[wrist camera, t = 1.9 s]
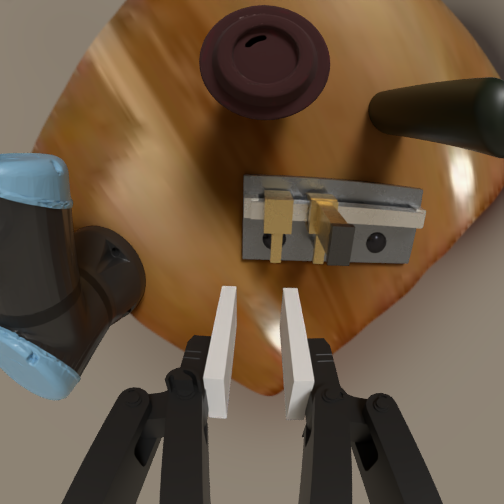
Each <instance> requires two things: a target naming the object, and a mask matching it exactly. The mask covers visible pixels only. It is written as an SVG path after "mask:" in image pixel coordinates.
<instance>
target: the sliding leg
mask: <svg viewBox="0 0 504 504" xmlns="http://www.w3.org/2000/svg"><path fill="white" fill-rule="evenodd" d="M307 198H308V200H309V202H310V204H309V216H308V221H305V227H306V229H307V232H308V233H309V234H315V239H312V240H311V244H312V246H313V257H312V262H313V264H323V261H324V254H325V253H326V255H327V256H326V263H327V265H340V266H349V263H350V258H351V252H352V246H353V240H354V234H355V226H354V225H353V224H348V223H347V222H346V220H345V219H344V218H343V217H342V215H341V214H340V213H339V212H338V204H339V202H338V201H337V199H336V198H335V197H334V196H333V195H332V194H320V193H307Z"/></svg>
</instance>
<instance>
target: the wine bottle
mask: <svg viewBox="0 0 504 504" xmlns="http://www.w3.org/2000/svg"><path fill="white" fill-rule="evenodd" d="M369 116H370V119H371V121H372V123H373V124H374V126H375V127H376V128H377V129H378V130H379V131H381V132H383V133H385V134H390V135H397V136H403V137H410V138H415V139H421V140H427V141H432V142H437V143H442V144H446V145H451V146H455V147H460V148H464V149H468V150H472V151H476V152H480V153H484V154H487V155H491V156H494V157H498V158H504V81H503V80H501V79H498V78H493V77H488V78H473V79H462V80H452V81H443V82H436V83H428V84H422V85H415V86H409V87H404V88H398V89H393V90H388V91H383V92H379V93H377V94H376V95H375V96H374V97H373V98H372V100H371V102H370V105H369Z"/></svg>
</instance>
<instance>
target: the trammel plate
mask: <svg viewBox="0 0 504 504" xmlns="http://www.w3.org/2000/svg"><path fill="white" fill-rule="evenodd" d="M307 193H320V194H332V195H333V196H334V197H335V198H336V199H337V201H338V202H339V204H338V212H339V213H340V214H341V215H342V217H343V218H344V219H345V220H346V222H347V223H348V224H353V225H354V226H355V234H354V240H353V246H352V252H351V258H350V262H369V263H408V262H409V258H410V254H411V250H412V245H413V241H414V236H415V232H416V228H423V225H424V220H425V215H426V210H425V209H423V208H422V207H420V206H421V200H422V194H423V190H422V189H420V188H414V187H407V186H399V185H391V184H383V183H374V182H365V181H355V180H344V179H332V178H319V177H303V176H285V175H260V174H244V194H243V259H262V260H270V263H281V260H295V261H312V257H313V246H312V244H311V240H312V239H315V234H309V233H308V232H307V229H306V227H305V221H308V216H309V204H310V202H309V200H308V198H307ZM326 256H327V255H326V253H325V254H324V261H326Z"/></svg>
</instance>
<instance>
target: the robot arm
mask: <svg viewBox="0 0 504 504" xmlns="http://www.w3.org/2000/svg"><path fill="white" fill-rule="evenodd" d="M71 207H73V200H72V199H71V196H70V186H69V173H68V168H67V166H66V164H65V163H64V161H63V160H61V159H60V158H59V157H57V156H54V155H49V154H37V153H9V154H0V367H1V368H2V370H3V371H4V372H5V373H6V374H7V375H9V376H10V377H11V378H12V379H13V380H14V381H16V382H17V383H18V384H20V385H21V386H22V387H24V388H25V389H27V390H29V391H30V392H32V393H34V394H36V395H38V396H40V397H43V398H46V399H49V400H60V399H64V398H66V397H67V396H68V395H69V394H70V392H71V391H72V390H73V388H74V387H75V385H76V384H77V383H78V382H79V381H80V376H81V375H82V373H83V371H84V369H85V367H86V366H87V364H88V362H89V360H90V359H91V357H92V355H93V354H94V352H95V350H96V348H97V347H98V345H99V343H100V342H101V340H102V338H103V337H104V335H105V333H106V332H107V330H108V329H109V327H110V326H111V325H112V324H114V323H115V322H117V321H118V320H120V319H121V318H122V317H125V316H126V315H128V314H129V313H131V312H132V311H133V310H134V309H135V307H136V306H137V304H138V303H139V301H140V299H141V298H142V296H143V293H144V290H145V272H144V268H143V265H142V263H141V260H140V258H139V256H138V255H137V253H136V251H135V250H134V249H133V247H132V246H131V245H130V244H129V243H128V242H127V241H126V240H125V239H124V238H123V237H122V236H120V235H119V234H117V233H116V232H114V231H112V230H110V229H107V228H104V227H100V226H87V227H84V228H81V229H79V230H77V231H76V232H75V233H74V231H73V221H72V209H71ZM236 327H237V315H236V286H222V290H221V294H220V299H219V304H218V308H217V313H216V318H215V323H214V327H213V332H212V336H197V335H194V336H193V337H192V338H191V339H190V340H189V341H188V343H187V346H186V350H185V353H184V356H183V360H182V363H181V367H180V368H176V369H174V370H172V371H170V372H169V373H168V374H167V376H166V378H165V382H166V385H167V389H168V390H167V391H165V392H161V393H155V394H148V393H147V392H146V391H145V390H143V389H141V388H134V387H133V388H129V389H126V390H124V391H123V392H122V393H121V394H120V395H119V397H118V399H117V400H116V402H115V404H114V406H113V407H112V409H111V411H110V413H109V414H108V416H107V418H106V420H105V422H104V423H103V425H102V427H101V429H100V431H99V432H98V434H97V436H96V438H95V440H94V442H93V444H92V445H91V447H90V449H89V451H88V453H87V455H86V457H85V458H84V461H83V462H82V464H81V466H80V468H79V470H78V472H77V474H76V476H75V478H74V480H73V482H72V484H71V486H70V488H69V490H68V492H67V494H66V496H65V498H64V500H63V502H62V504H136V501H137V498H138V496H139V493H140V491H141V489H142V486H143V483H144V481H145V478H146V476H147V473H148V471H149V468H150V466H151V463H152V461H153V458H154V456H155V453H156V451H157V448H158V445H159V443H160V441H161V438H162V437H164V443H163V456H162V468H161V486H160V504H211V503H210V482H209V452H208V424H207V417H208V414H209V417H213V418H227V411H228V401H229V392H230V382H231V373H232V363H233V354H234V345H235V336H236ZM280 338H281V351H282V364H283V378H284V393H285V408H286V420H303V419H304V417H305V415H306V426H305V429H304V432H303V435H302V437H304V446H303V460H302V473H301V483H300V494H299V504H352V461H351V447H352V450H353V453H354V456H355V459H356V462H357V465H358V468H359V471H360V474H361V477H362V480H363V483H364V486H365V489H366V492H367V496H368V499H369V502H370V504H443V503H442V501H441V498H440V496H439V493H438V491H437V489H436V487H435V484H434V482H433V480H432V477H431V475H430V473H429V471H428V468H427V466H426V464H425V462H424V459H423V458H422V455H421V453H420V451H419V449H418V447H417V444H416V442H415V440H414V438H413V436H412V434H411V432H410V430H409V428H408V426H407V424H406V422H405V420H404V418H403V416H402V414H401V412H400V410H399V408H398V406H397V404H396V402H395V401H394V399H393V398H392V397H390V396H389V395H387V394H383V393H376V394H374V395H371V396H370V397H369V398H368V399H363V398H357V397H353V396H350V395H348V394H347V393H346V392H345V391H344V390H343V389H342V388H341V386H340V384H339V380H338V376H337V372H336V368H335V364H334V362H333V356H332V352H331V348H330V345H329V344H328V343H327V342H326V341H325V339H324V338H314V339H307V336H306V331H305V325H304V320H303V315H302V310H301V305H300V299H299V294H298V289H297V288H283V298H282V308H281V319H280Z"/></svg>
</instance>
